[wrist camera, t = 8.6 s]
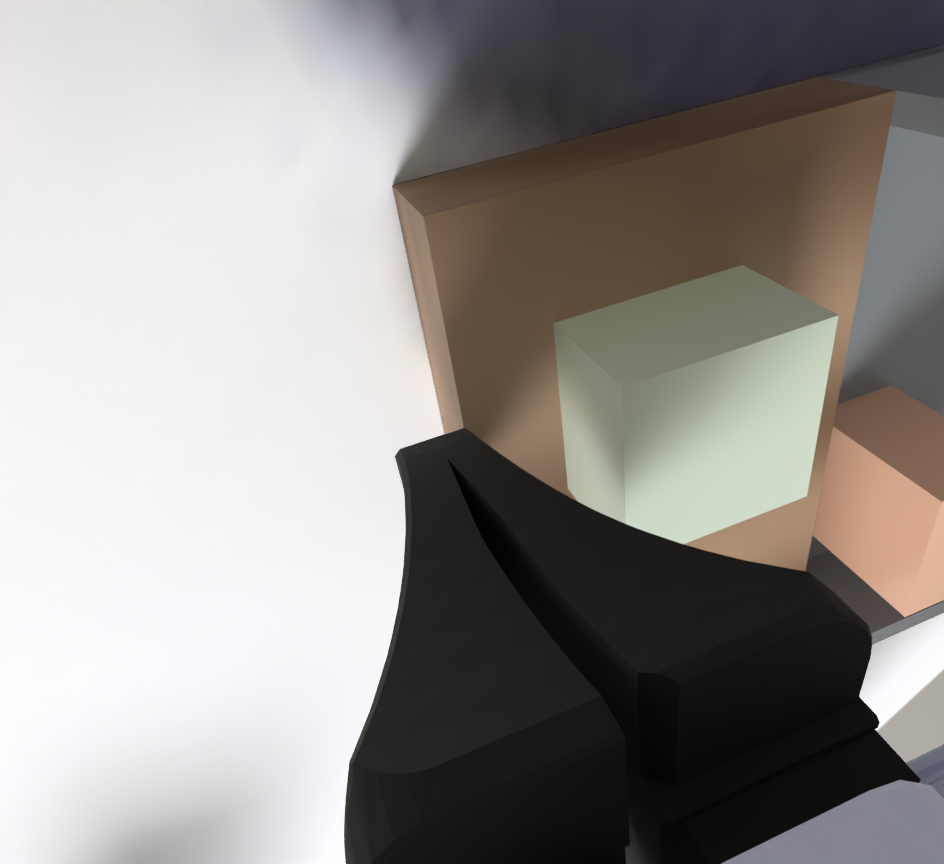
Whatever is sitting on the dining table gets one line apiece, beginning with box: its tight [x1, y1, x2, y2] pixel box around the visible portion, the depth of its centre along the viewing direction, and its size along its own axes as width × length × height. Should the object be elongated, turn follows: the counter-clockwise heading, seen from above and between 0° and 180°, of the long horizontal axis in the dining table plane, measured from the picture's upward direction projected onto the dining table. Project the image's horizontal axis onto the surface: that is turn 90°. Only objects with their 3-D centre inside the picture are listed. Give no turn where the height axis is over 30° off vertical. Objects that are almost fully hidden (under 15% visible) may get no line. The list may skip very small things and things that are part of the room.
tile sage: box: [553, 265, 839, 544], centre depth 13 cm, size 4×4×2 cm
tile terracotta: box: [813, 385, 944, 617], centre depth 19 cm, size 4×4×2 cm
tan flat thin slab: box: [392, 77, 896, 571], centre depth 17 cm, size 15×9×2 cm, turn 9°
